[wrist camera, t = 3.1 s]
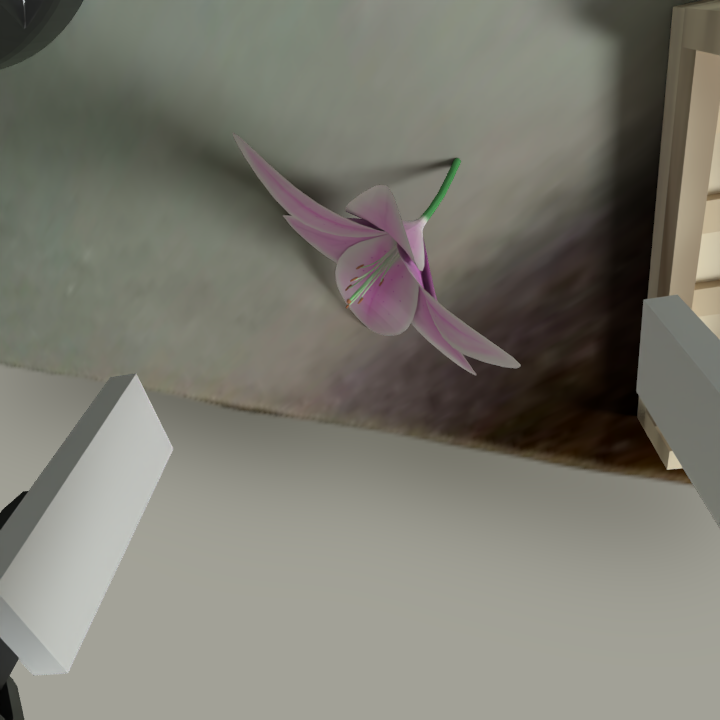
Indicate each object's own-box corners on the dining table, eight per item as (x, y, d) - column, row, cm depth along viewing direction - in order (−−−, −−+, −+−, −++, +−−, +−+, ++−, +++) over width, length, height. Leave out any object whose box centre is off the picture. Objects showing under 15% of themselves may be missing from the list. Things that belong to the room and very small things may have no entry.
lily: (260, 47, 23) (128, 206, 18) (570, 1, 18) (500, 206, 13) (350, 264, 32) (278, 408, 27) (573, 275, 27) (533, 455, 22)
